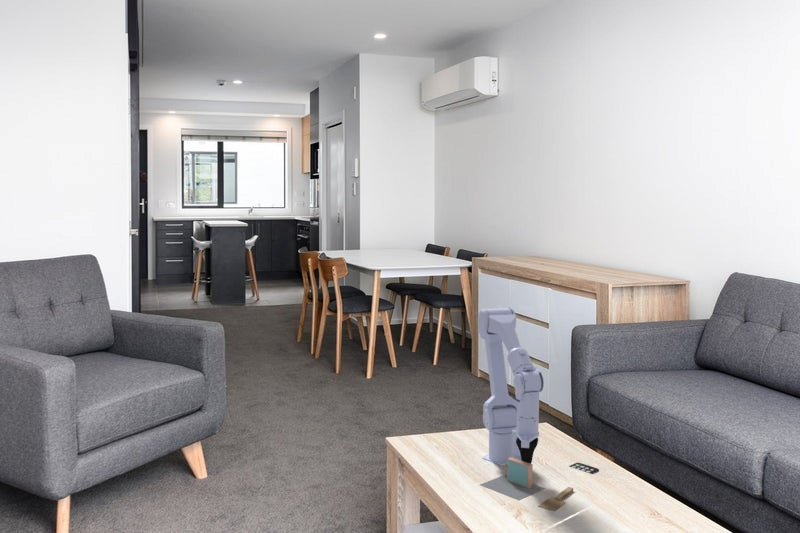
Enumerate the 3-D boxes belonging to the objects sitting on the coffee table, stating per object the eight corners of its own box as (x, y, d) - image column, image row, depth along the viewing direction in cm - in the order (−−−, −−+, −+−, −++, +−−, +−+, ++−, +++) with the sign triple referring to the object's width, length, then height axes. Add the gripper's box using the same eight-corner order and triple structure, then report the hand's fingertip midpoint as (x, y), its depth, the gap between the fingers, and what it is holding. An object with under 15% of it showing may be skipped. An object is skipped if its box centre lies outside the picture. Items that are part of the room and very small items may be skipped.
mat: (506, 475, 195) (506, 473, 195) (545, 489, 185) (545, 488, 185) (479, 486, 188) (479, 484, 188) (518, 501, 178) (518, 500, 178)
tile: (511, 478, 192) (511, 457, 191) (532, 486, 186) (532, 464, 186) (506, 480, 190) (507, 458, 190) (527, 488, 185) (528, 466, 185)
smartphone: (546, 476, 194) (577, 462, 204) (546, 478, 194) (577, 464, 204) (569, 484, 189) (600, 469, 199) (569, 486, 189) (600, 471, 199)
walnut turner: (562, 489, 186) (562, 485, 186) (578, 494, 183) (578, 489, 183) (538, 508, 175) (538, 503, 174) (554, 513, 172) (554, 508, 172)
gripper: (515, 406, 197) (514, 454, 198) (509, 422, 183) (508, 473, 184) (541, 408, 195) (540, 456, 196) (537, 425, 181) (536, 476, 182)
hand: (526, 465), depth 190 cm, fingers closed
